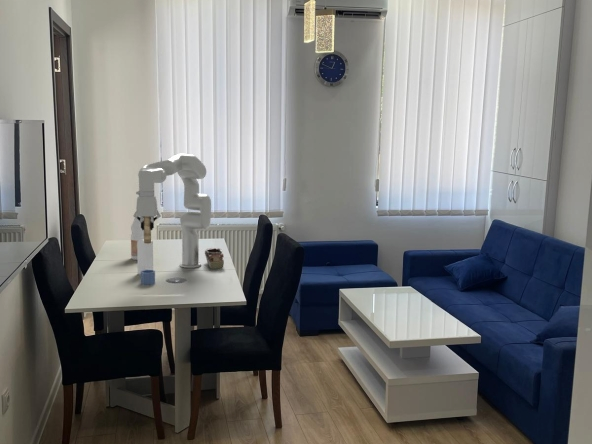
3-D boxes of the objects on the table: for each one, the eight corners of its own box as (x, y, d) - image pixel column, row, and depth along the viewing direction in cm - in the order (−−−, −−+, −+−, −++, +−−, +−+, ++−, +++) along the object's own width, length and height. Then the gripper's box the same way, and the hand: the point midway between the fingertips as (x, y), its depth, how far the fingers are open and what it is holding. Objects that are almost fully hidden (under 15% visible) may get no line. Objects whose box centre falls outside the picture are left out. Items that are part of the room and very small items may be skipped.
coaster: (166, 279, 330) (166, 277, 329) (187, 279, 331) (187, 277, 331) (164, 284, 319) (164, 283, 319) (186, 284, 320) (186, 283, 320)
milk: (137, 275, 336) (136, 235, 332) (144, 272, 342) (144, 234, 338) (146, 276, 334) (145, 236, 330) (153, 274, 339) (152, 235, 335)
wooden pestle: (144, 242, 316) (143, 207, 313) (151, 242, 317) (151, 207, 314) (143, 243, 313) (142, 208, 310) (150, 243, 313) (150, 208, 310)
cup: (142, 282, 322) (141, 269, 320) (156, 282, 322) (155, 269, 321) (140, 286, 314) (139, 273, 313) (154, 286, 315) (154, 273, 314)
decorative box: (200, 270, 351) (200, 253, 349) (199, 261, 370) (199, 246, 369) (224, 269, 354) (224, 253, 352) (221, 261, 373) (221, 245, 371)
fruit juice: (135, 261, 368) (134, 214, 364) (128, 258, 375) (127, 212, 371) (149, 259, 374) (149, 213, 369) (143, 256, 381) (142, 211, 377)
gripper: (128, 194, 306) (129, 231, 309) (162, 195, 308) (163, 231, 311) (131, 192, 313) (131, 228, 316) (164, 193, 315) (164, 228, 318)
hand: (147, 229), depth 314 cm, fingers closed on wooden pestle, 3 cm apart
